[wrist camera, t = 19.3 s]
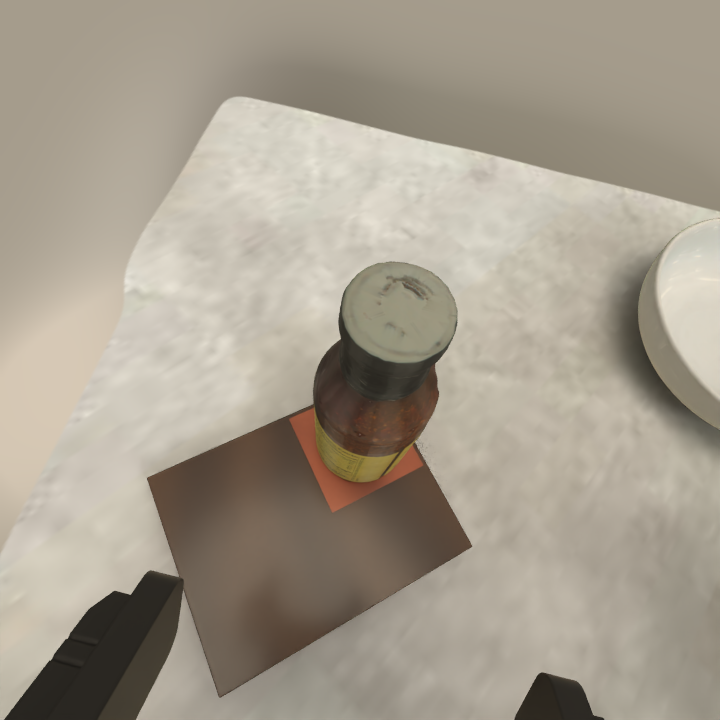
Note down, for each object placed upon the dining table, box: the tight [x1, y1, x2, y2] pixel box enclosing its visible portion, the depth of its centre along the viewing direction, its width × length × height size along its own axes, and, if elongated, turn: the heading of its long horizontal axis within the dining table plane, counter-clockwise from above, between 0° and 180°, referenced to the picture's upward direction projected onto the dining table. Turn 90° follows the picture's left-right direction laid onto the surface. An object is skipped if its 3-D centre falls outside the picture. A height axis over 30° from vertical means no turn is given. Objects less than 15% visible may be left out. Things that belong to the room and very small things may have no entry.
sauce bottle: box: [313, 262, 457, 483], centre depth 24 cm, size 7×6×20 cm
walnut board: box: [147, 404, 472, 698], centre depth 32 cm, size 18×14×2 cm
